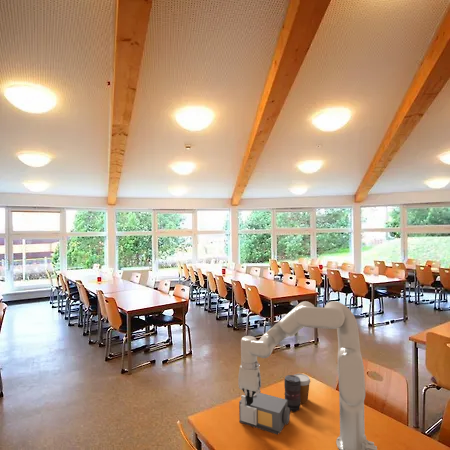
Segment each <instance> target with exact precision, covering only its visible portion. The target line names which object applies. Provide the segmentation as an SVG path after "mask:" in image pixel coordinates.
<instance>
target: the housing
mask: <svg viewBox="0 0 450 450" xmlns="http://www.w3.org/2000/svg"><path fill="white" fill-rule="evenodd" d="M249 391H250V390H249ZM249 393H250V392H249ZM244 396H246V395H245V394H244ZM238 403H239V404H238V405H239V407H238V408H239V414H238V415H239V419H238V420H239V423H241V424H244V425H246V426H249V427H253V428H256V429H258V430H262V431H265V432H268V433H271V434H274V435H276V436H277V435H278V436H279V434H281V432H282V431H283V429H284V426H285V425H288V424H289V422H290V419H291V418H290V417H291V411H290V408H289V407H288V400H286V399H285V398H282V397H278V396H273V395H271V394H266V393H264V392H263V393H262V392H260V393H259V394H254V395H253V403H252V404H251V405H247V401H246V406H250V407H253V408H257V425H253V424H250V423H247V422H244V421H241V414H240V405H241V399H240V400H239V402H238Z"/></svg>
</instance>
